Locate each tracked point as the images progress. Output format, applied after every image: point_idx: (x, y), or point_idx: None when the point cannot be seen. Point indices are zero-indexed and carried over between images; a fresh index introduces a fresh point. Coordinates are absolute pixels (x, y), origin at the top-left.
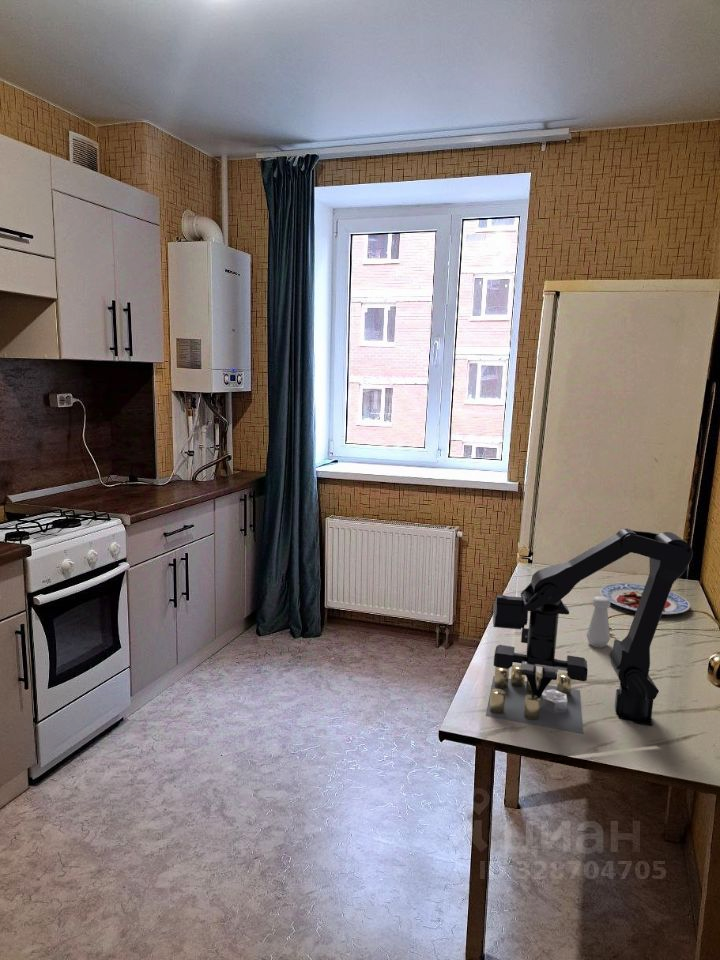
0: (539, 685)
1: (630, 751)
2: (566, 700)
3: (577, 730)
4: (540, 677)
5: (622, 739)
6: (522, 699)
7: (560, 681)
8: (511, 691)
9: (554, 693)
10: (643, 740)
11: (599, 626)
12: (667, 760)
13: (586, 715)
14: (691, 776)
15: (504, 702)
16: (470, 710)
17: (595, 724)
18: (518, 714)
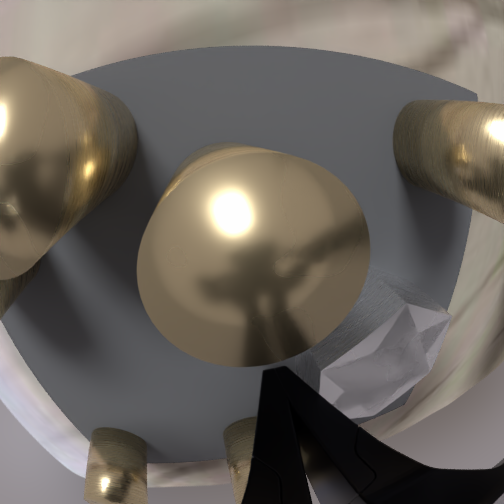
0: (317, 491)
1: (463, 376)
2: (428, 370)
3: (395, 403)
4: (345, 490)
5: (473, 349)
6: (179, 351)
7: (480, 206)
8: (82, 289)
9: (397, 348)
10: (501, 324)
11: None
12: (494, 356)
13: (454, 294)
14: (494, 369)
15: (146, 480)
16: (54, 435)
17: (454, 329)
18: (202, 440)
